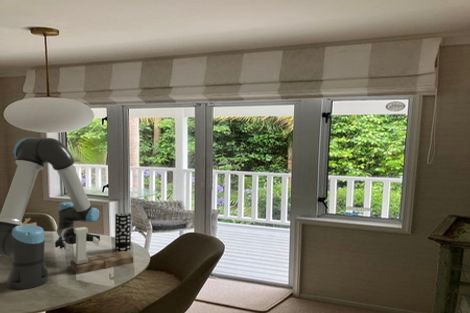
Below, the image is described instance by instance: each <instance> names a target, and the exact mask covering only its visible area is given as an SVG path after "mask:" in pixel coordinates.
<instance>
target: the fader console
mask: <svg viewBox="0 0 470 313" xmlns="http://www.w3.org/2000/svg"><path fill="white" fill-rule="evenodd" d="M86 257H87V256H86ZM87 258H88V262H87V263H81V264H76V263H75V262H74V259H72V260H70V267H71V269H72V270H73V271H74V272H75V273H76V274H77V275H79V274H83V273H90V272H94V271H99V270H103V269H109V268H113V267H119V266H123V265H128V264H134V256H133V255H131V254H129V252H127V251H126V252H125V251H121V252H117V251H115V252H111V253H105V254H98V255H94V256H88V257H87Z"/></svg>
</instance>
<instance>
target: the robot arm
mask: <svg viewBox="0 0 470 313" xmlns="http://www.w3.org/2000/svg"><path fill="white" fill-rule="evenodd" d="M13 154H14V155H13V156H14V158H15V164H16V165H17V167H16V170H15V173H14V176H13V179H12V181H11V184H10V187H9V190H8V193H7V195H6V198H5V200H4V203H3V205H2V206H3V207H2V209H1V211H0V256H5V257H11V259H12V260H11V262H12V264H11V269H10V272H9V275H8V277H7V280H6V286H7V288H8V289H11V290H12V289H13V290H26V289H31V288H32V289H33V288H35V287H39V286H42V285H44V284H46V283H47V282H48V281H49V278H50V276H49V275H50V273H49V270H48V268H47V266H46V262H45V242H46V241H45V238H46V237H45V230H44V228H43V227H41V226H39V225H37V226H36V225H23V224H22V223H23V222H22V221H23V217H24V214H25V211H26V209H27V206H28V203H29V200H30V197H31V194H32V191H33V188H34V185H35V183H36V178H37V177H38V173H39V171H41V170H43V169H44V167H45V164H49V165H51V166H52V169H53V170H54V171H57V173H58V175H59V178H60V180H61V182H62V184H63V186H64V189H65V191H66V193H67V195H68V197H69V199H70V201H64V202H60V203H59V204H58V225H57V229H56V234H57V236H58V239H57V240H55V242H54V246H55V247H54V248H59V249H64V250H65V251H69V245H76V234H75V233H74V228H75V222H80V223H81V222H83V223H95V222H96V221H97V220H98V219H99V217H100V211H99V209H98V208H96V207H92V205H91V202H90V199H89V198H88V196H87V193H86V191H85V189H84V186H83V184H82V181H81V179H80V176H79V174H78V171H77V169H76V168H75V166H74V164H75V159H74V157H73V154H72V153H71V152H70V150H69V149H68V147H66V146H65V145H64V143H62V142H61V141H60V140H58V139H56V138H53V137H33V136H32V137H25V138H22V139H20V140H18V141H17V143H15V146H14V147H13ZM100 241H101V235H98V234H91V233H89V232H88V233H86V242H91V243H93V244H95V246H99V245H100Z"/></svg>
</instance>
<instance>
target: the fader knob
mask: <svg viewBox="0 0 470 313" xmlns="http://www.w3.org/2000/svg"><path fill="white" fill-rule="evenodd" d="M74 233H75V234H76V243H75V256H74V257H73V260H74V262H75V263H76V264H81V263H87V262H88V258H87V241H86V233H88V234H89V228H88V227H86V226H82V227H81V226H80V227H74Z"/></svg>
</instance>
